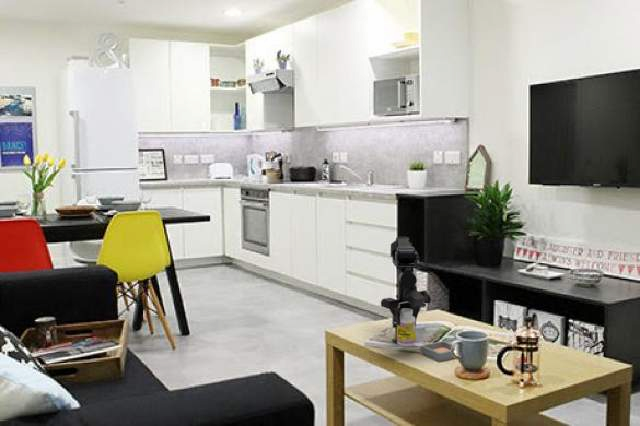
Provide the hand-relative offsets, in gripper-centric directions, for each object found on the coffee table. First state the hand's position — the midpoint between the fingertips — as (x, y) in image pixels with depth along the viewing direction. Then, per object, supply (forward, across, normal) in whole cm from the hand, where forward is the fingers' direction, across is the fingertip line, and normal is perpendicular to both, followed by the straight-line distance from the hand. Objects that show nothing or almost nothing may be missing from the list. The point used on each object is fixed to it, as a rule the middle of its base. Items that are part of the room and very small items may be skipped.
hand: (406, 323), depth 248 cm
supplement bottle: (+8, 0, 0) cm, 8 cm away
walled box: (+11, +9, -9) cm, 17 cm away
